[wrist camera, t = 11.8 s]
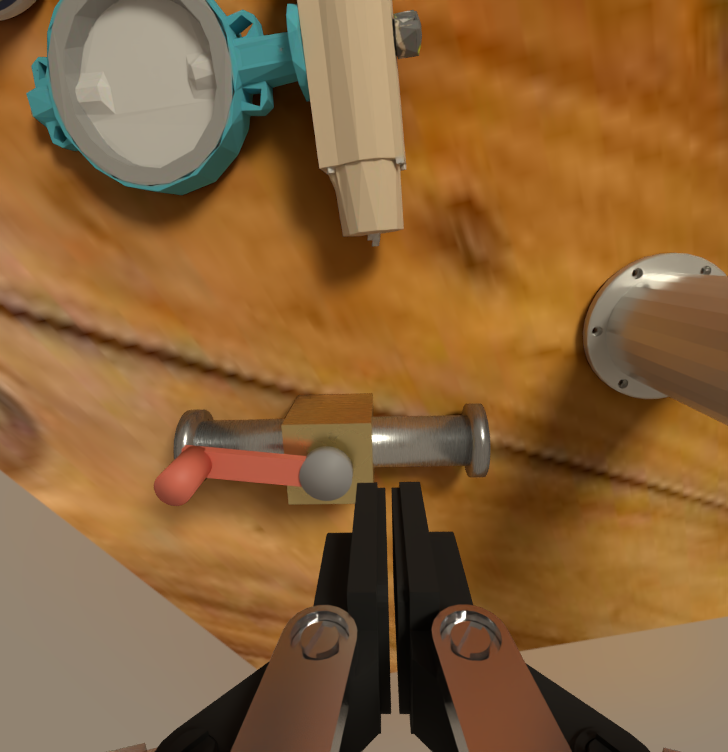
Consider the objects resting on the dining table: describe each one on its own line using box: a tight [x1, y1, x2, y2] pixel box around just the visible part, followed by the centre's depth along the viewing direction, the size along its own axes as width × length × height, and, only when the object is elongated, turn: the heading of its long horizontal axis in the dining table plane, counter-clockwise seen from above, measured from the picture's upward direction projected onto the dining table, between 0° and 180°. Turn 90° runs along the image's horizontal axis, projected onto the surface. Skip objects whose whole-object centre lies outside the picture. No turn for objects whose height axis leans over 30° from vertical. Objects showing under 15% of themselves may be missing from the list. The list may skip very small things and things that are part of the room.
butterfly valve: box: [26, 0, 422, 246], centre depth 33 cm, size 27×7×30 cm
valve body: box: [174, 393, 490, 504], centre depth 38 cm, size 26×7×8 cm, turn 92°
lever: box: [154, 445, 353, 506], centre depth 32 cm, size 13×4×5 cm, turn 85°
